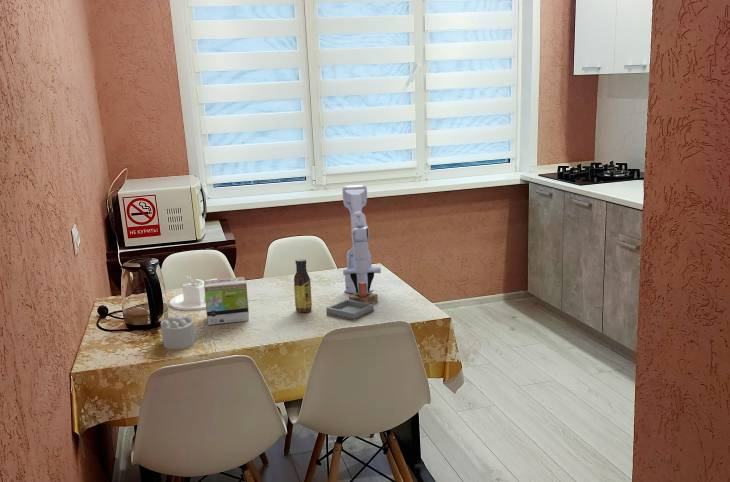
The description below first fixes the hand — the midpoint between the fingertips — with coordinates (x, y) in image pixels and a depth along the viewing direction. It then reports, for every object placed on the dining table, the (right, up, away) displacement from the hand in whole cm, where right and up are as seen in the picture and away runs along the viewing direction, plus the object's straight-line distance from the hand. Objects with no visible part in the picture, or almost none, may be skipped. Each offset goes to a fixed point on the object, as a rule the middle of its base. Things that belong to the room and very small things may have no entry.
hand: (362, 291), depth 254 cm
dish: (-66, -5, +13) cm, 68 cm away
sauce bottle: (-22, -7, -5) cm, 24 cm away
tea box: (-50, -10, -11) cm, 52 cm away
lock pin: (0, -4, +1) cm, 4 cm away
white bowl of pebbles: (-62, -15, -33) cm, 72 cm away
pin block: (0, -4, +1) cm, 4 cm away
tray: (-5, -7, -10) cm, 13 cm away
